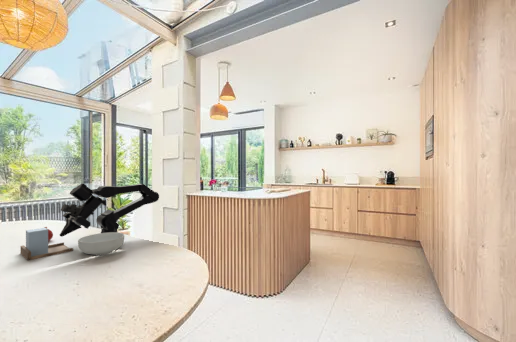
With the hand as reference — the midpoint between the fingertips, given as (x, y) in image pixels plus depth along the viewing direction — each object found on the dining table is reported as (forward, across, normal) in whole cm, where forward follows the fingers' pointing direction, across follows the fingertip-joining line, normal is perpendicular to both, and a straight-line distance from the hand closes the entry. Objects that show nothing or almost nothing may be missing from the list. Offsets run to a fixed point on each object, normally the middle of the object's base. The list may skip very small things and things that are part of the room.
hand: (60, 236), depth 106 cm
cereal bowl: (-2, +16, +12) cm, 21 cm away
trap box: (+8, 0, +2) cm, 8 cm away
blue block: (+9, 0, -2) cm, 10 cm away
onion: (+6, -20, +4) cm, 21 cm away
